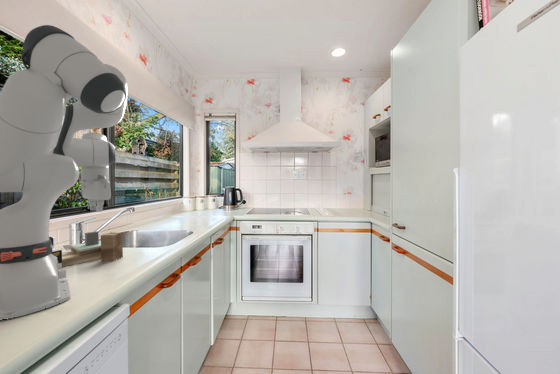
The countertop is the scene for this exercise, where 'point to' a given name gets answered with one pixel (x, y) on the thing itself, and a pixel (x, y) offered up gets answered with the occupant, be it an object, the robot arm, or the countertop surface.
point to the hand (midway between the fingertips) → (96, 210)
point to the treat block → (111, 246)
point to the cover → (88, 242)
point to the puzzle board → (80, 256)
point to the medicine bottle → (56, 250)
